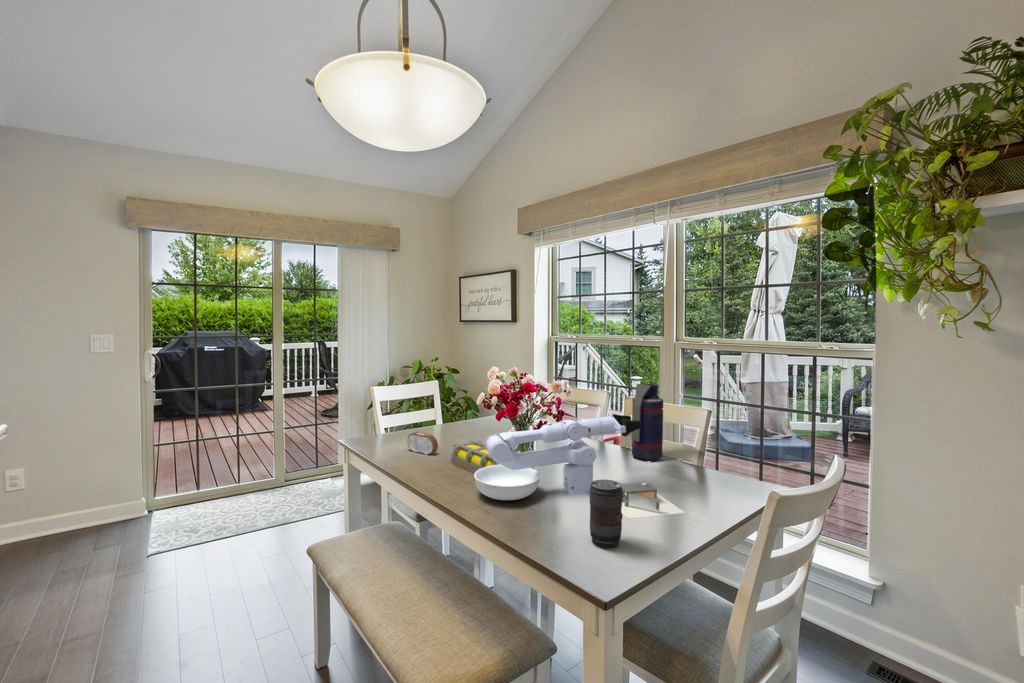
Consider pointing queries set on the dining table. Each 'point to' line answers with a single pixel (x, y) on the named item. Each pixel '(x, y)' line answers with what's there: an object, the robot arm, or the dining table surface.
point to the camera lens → (605, 513)
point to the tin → (422, 443)
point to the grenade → (647, 423)
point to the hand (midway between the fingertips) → (636, 421)
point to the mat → (665, 509)
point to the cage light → (471, 456)
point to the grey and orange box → (639, 490)
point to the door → (642, 502)
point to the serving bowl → (506, 482)
